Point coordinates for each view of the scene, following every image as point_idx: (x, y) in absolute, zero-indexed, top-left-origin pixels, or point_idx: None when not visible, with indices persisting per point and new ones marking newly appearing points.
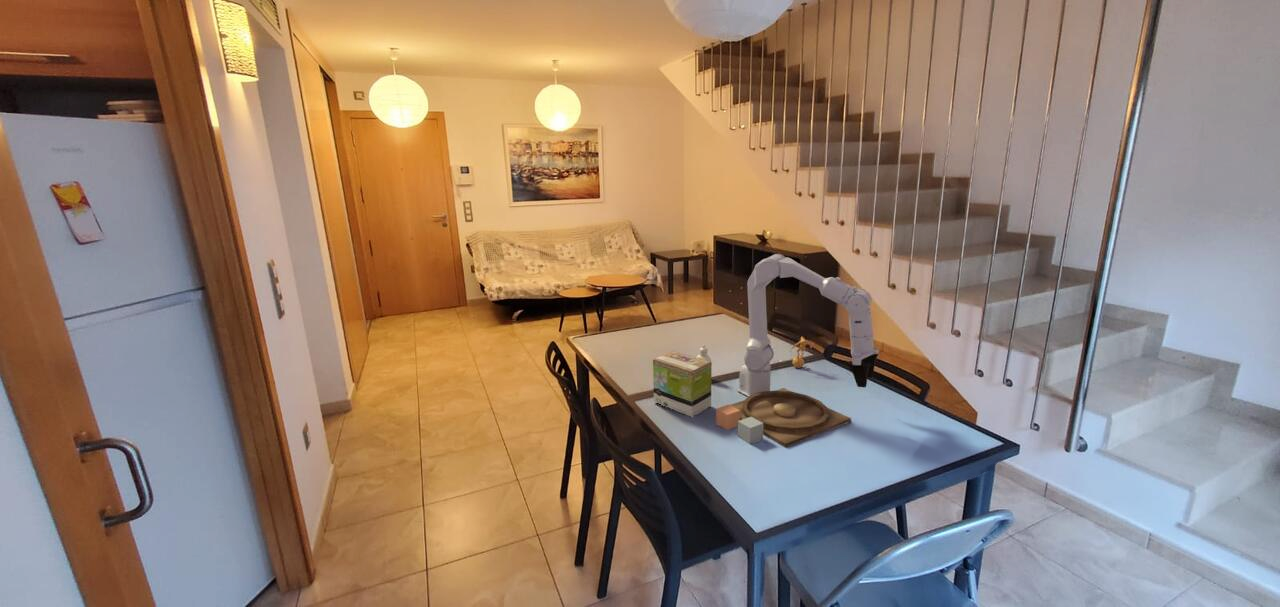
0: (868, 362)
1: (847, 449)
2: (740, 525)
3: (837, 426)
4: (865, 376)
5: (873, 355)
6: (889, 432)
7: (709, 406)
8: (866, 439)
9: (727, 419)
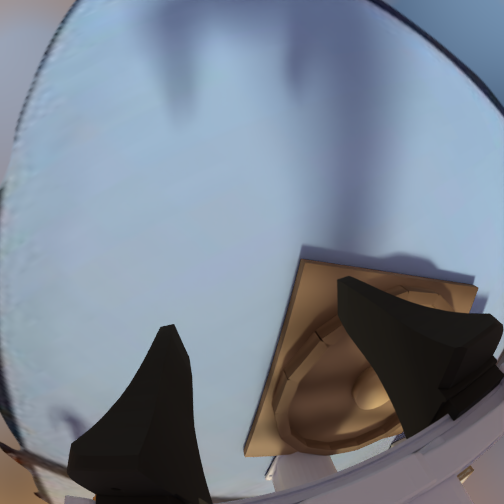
0: (177, 425)
1: (437, 188)
2: None
3: (358, 267)
4: (410, 304)
5: (158, 466)
6: (287, 130)
7: (396, 442)
8: (375, 169)
9: None
